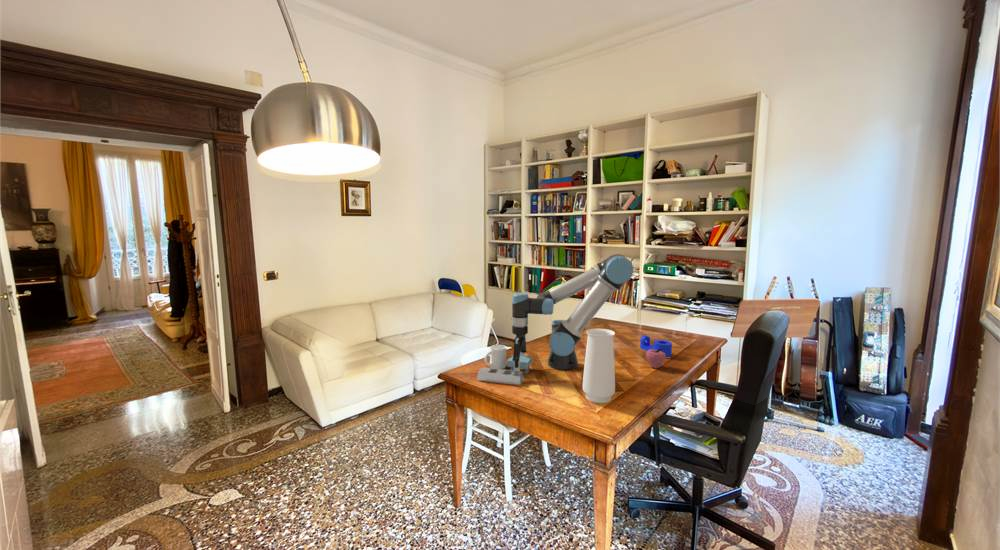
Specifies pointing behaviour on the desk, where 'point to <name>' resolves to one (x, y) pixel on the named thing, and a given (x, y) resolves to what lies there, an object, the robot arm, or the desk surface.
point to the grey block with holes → (500, 376)
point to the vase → (599, 366)
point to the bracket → (656, 345)
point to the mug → (496, 357)
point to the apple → (655, 358)
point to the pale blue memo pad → (524, 362)
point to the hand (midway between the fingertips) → (519, 369)
